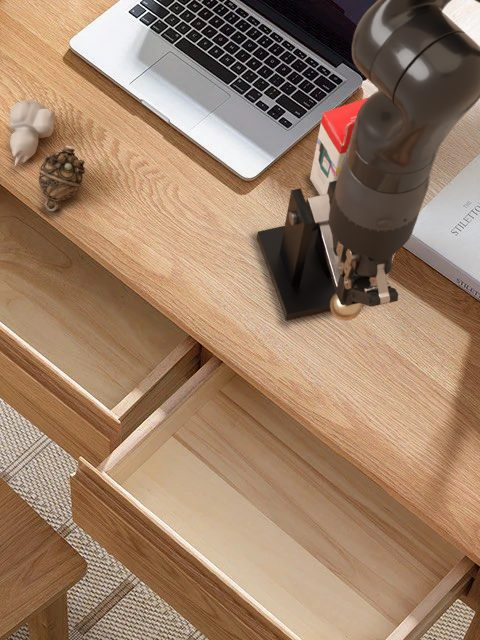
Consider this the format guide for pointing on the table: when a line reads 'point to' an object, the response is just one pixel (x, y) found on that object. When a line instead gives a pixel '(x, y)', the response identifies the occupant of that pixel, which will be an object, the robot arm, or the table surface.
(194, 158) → the table surface
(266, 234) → the lever base
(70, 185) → the pendant
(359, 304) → the lever with brass knob
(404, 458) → the table surface
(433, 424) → the table surface
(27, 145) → the white lobed figurine
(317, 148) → the ink box
